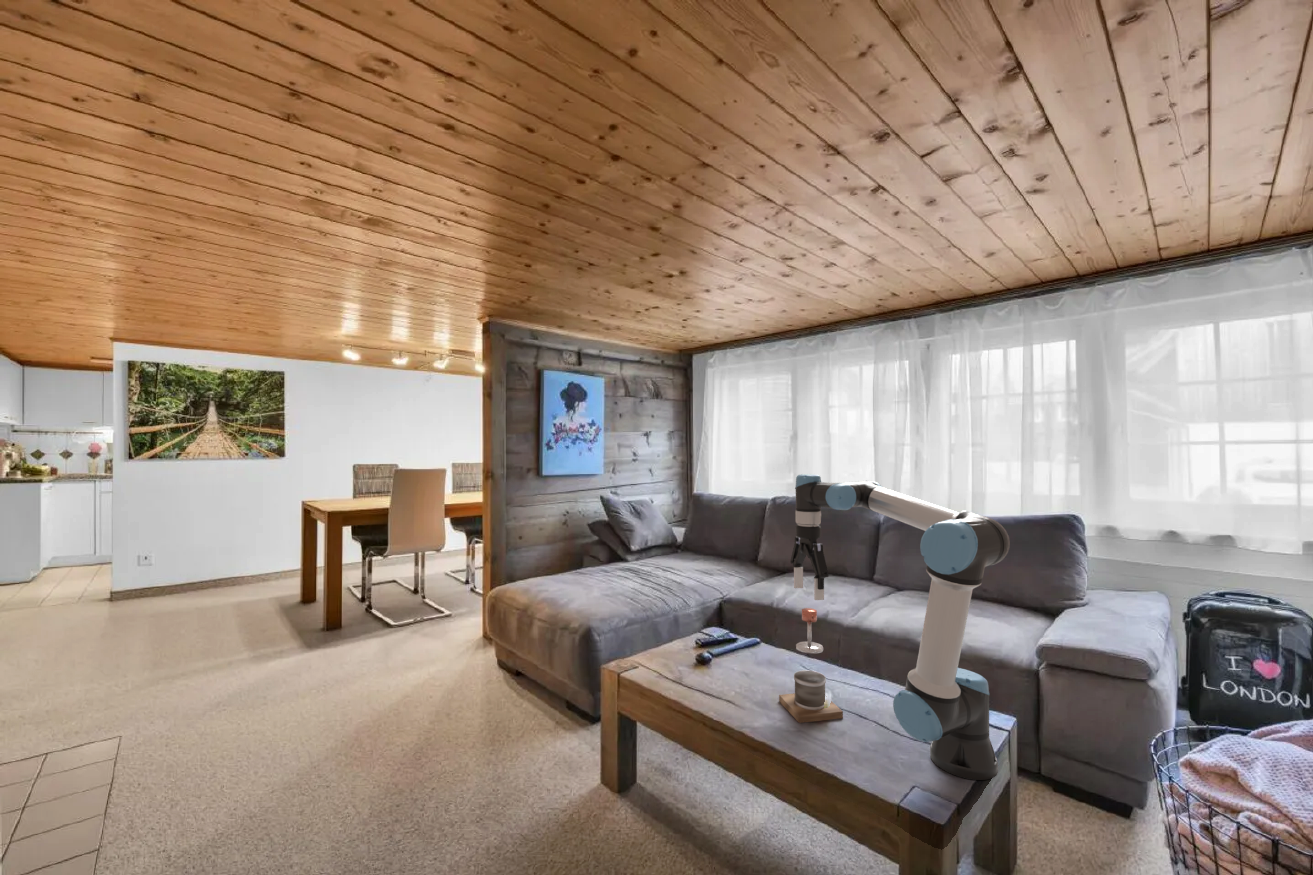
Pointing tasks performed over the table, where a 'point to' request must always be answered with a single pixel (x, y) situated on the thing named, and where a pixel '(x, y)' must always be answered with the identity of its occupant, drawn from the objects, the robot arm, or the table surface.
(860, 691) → the table surface
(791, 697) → the stand
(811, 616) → the plunger
